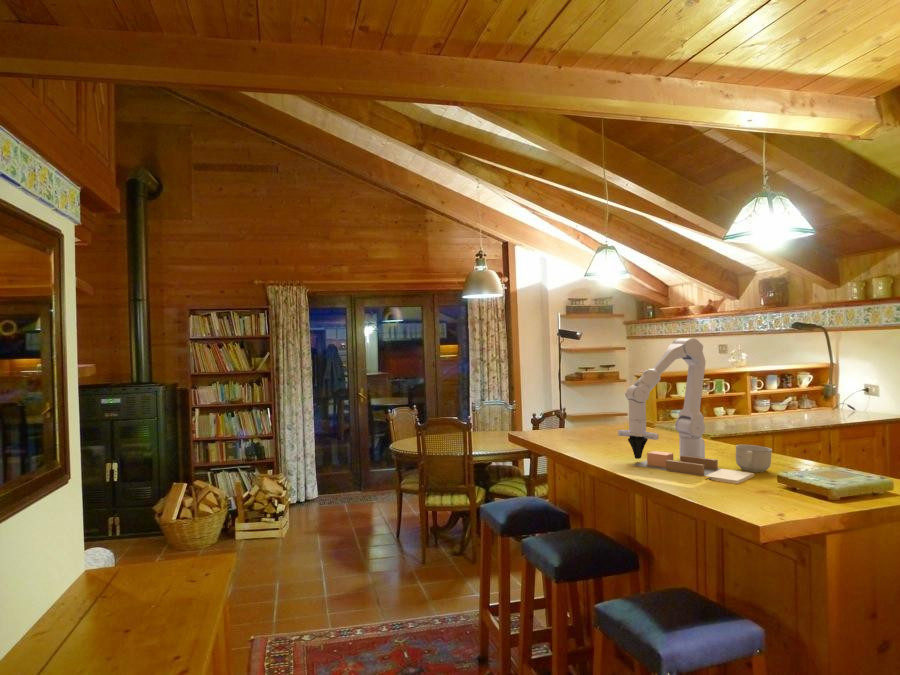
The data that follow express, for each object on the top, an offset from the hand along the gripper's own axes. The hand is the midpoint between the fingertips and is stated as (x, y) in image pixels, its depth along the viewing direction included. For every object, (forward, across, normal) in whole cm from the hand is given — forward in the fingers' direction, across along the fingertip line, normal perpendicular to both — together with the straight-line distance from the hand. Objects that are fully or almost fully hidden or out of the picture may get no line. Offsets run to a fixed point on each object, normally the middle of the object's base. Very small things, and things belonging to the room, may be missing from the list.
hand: (638, 458), depth 217 cm
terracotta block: (+1, +8, 0) cm, 8 cm away
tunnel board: (+2, +19, 0) cm, 19 cm away
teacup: (+2, +33, +14) cm, 36 cm away
